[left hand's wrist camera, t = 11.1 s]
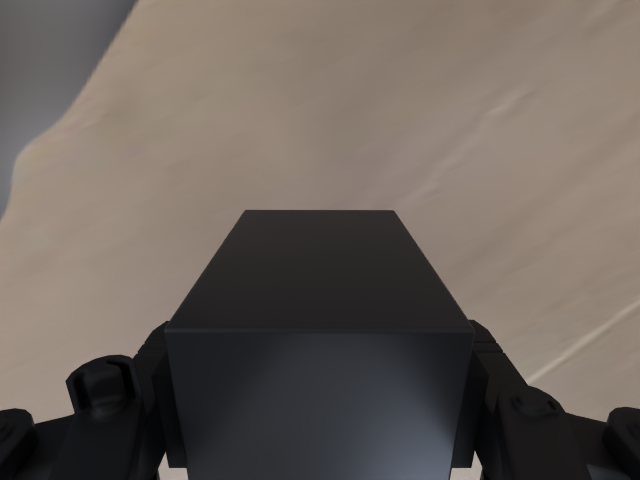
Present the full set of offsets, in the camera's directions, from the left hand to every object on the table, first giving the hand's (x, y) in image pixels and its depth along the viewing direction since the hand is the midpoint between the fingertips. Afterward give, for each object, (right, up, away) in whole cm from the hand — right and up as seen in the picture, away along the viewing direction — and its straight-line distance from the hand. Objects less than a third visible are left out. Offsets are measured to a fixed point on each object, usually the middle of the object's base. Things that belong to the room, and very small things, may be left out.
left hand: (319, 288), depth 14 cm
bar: (0, -9, +4) cm, 10 cm away
